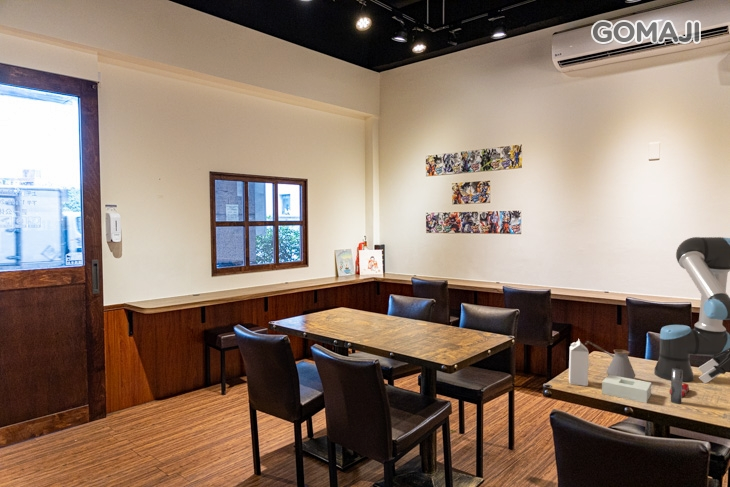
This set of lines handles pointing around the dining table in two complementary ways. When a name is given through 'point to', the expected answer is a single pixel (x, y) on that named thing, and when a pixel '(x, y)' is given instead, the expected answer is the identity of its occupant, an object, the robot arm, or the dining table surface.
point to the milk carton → (578, 364)
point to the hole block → (626, 388)
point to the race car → (684, 389)
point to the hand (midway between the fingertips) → (701, 375)
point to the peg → (676, 386)
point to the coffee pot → (619, 363)
